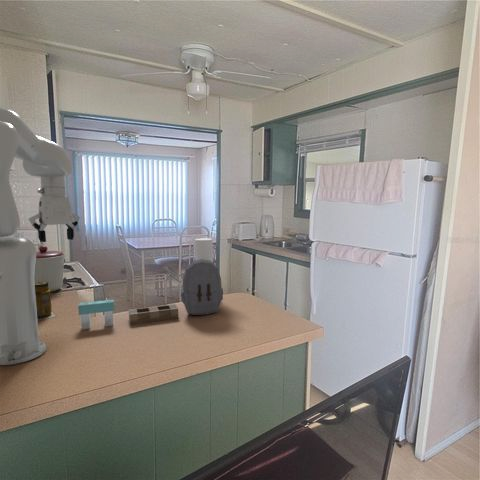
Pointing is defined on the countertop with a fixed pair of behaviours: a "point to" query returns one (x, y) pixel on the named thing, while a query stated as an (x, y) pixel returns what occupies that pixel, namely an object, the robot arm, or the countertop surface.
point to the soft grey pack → (202, 288)
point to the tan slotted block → (153, 314)
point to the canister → (49, 268)
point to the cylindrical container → (204, 249)
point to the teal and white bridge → (96, 307)
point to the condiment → (43, 301)
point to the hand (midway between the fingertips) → (57, 240)
